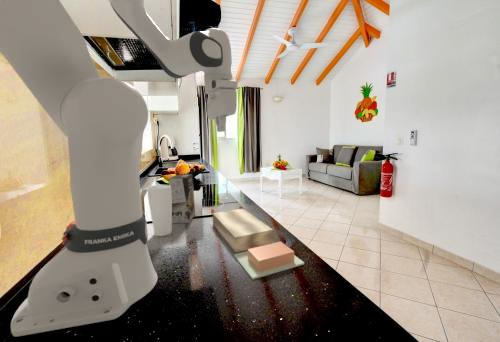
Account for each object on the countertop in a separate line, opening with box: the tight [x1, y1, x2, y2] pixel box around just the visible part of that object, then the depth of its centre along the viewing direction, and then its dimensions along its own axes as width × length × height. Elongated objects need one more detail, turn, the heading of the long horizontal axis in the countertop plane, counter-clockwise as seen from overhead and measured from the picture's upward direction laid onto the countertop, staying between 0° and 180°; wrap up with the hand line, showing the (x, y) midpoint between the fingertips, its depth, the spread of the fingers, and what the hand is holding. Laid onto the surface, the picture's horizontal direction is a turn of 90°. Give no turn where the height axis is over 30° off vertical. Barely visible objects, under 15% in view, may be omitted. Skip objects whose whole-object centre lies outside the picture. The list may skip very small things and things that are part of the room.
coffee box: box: [168, 173, 196, 224], centre depth 86 cm, size 9×6×16 cm
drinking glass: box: [147, 184, 173, 237], centre depth 73 cm, size 7×7×15 cm
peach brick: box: [247, 241, 295, 272], centre depth 55 cm, size 9×6×2 cm, turn 114°
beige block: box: [212, 208, 274, 253], centre depth 72 cm, size 11×22×4 cm, turn 24°
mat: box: [233, 250, 305, 280], centre depth 56 cm, size 13×11×1 cm
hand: (221, 131), depth 77 cm, fingers closed
